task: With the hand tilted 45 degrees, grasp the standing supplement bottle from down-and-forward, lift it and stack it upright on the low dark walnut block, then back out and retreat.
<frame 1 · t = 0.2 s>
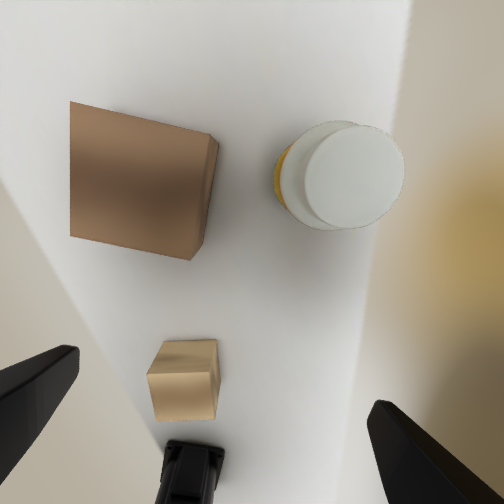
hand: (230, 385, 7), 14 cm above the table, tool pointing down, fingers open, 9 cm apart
supplement bottle: (305, 178, 19), on the table
oak block: (193, 362, 24), on the table
walnut block: (159, 185, 19), on the table
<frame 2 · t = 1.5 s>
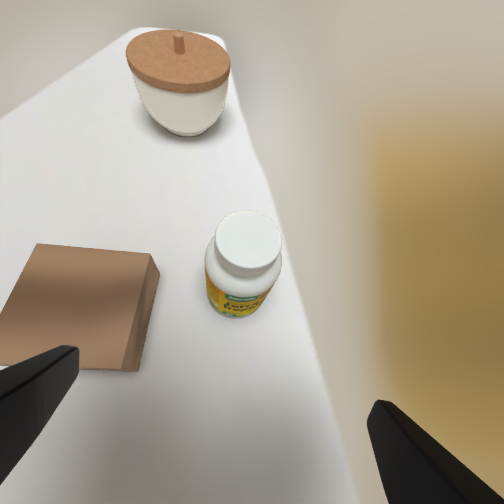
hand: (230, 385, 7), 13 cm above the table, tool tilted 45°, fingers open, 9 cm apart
supplement bottle: (235, 291, 23), on the table
lidded jar: (186, 123, 33), on the table
walnut block: (98, 314, 20), on the table
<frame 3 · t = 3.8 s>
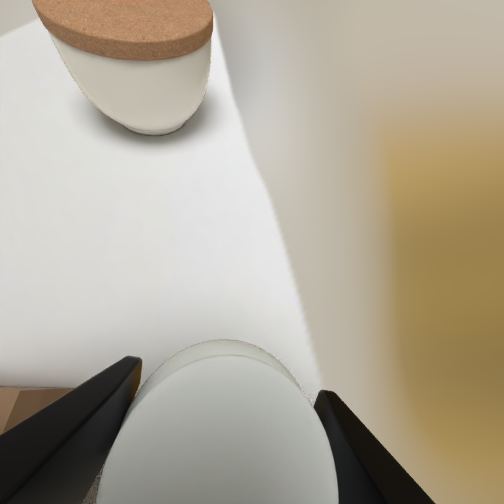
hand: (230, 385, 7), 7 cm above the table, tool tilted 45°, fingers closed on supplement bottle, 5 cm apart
supplement bottle: (216, 414, 13), on the table, touching gripper
lidded jar: (153, 115, 23), on the table
when the fingers open (11 cm above the table, at t = 6.7 s): supplement bottle stays where it is, resting on walnut block.
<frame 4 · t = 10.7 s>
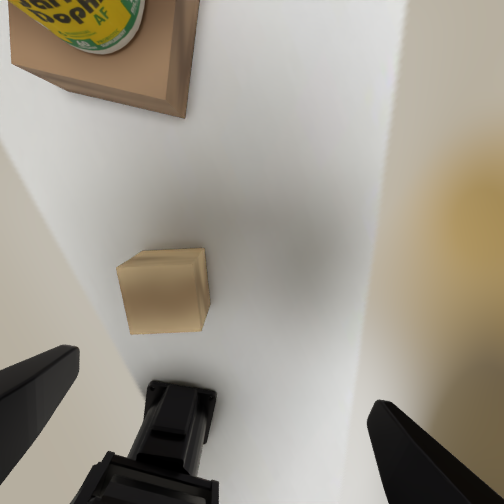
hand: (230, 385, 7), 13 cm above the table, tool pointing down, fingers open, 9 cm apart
oak block: (177, 278, 20), on the table
walnut block: (131, 36, 16), on the table
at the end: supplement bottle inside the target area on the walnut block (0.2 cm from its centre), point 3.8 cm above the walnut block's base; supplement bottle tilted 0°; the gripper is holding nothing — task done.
